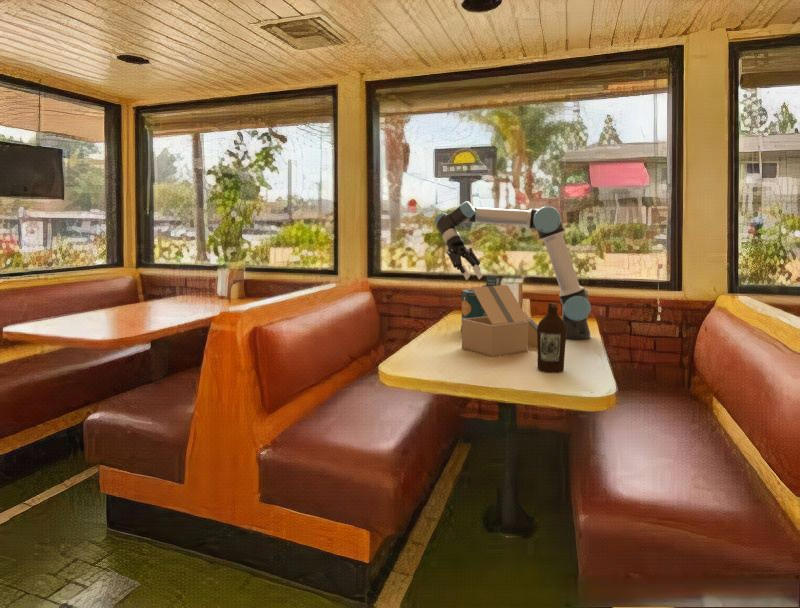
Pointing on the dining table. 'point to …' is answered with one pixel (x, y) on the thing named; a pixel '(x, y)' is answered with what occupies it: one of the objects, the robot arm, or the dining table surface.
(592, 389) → the dining table surface
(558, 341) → the olive oil
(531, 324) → the sandwich container
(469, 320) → the carton
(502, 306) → the lid flap
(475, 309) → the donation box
